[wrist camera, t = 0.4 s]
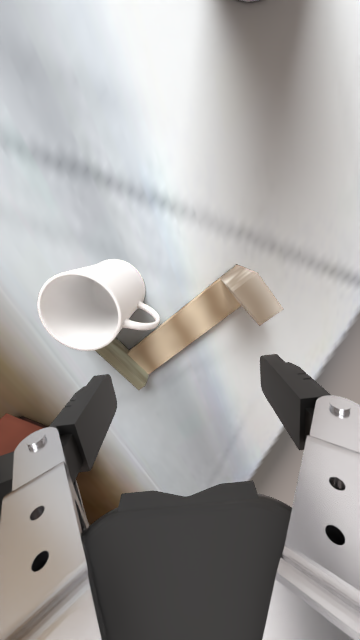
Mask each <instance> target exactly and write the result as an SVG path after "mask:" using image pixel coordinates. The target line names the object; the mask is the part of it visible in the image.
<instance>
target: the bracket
mask: <svg viewBox="0 0 360 640" xmlns="http://www.w3.org/2000/svg"><path fill="white" fill-rule="evenodd" d="M240 306H242V307H243V308H244V309H245V311H246V312H247V313H248V314H249V315H250V316H251V317H252V318H253V319H254V320H255V321H256V323H257V324H258V325H259V326H260V325H262V324H263V323H264V322H266V321H267V320H269V319H270V318H272V317H273V316H275V315H276V314H277V313H279V312H280V311H282V310H283V308H282V306H281V305H280V303H279V302H278V301H277V299H276V298H275V296H274V295H273V294H272V292H271V291H270V289H269V288H268V286H267V285H266V284H265V282H264V281H263V279H262V278H261V277H260V275H259V274H258V273H257V272H255V271H252V270H250V269H247V268H245V267H242V266H240V265H237V264H236V265H235V266H234V267H232V268H231V269H230V270H229V271H227V272H226V273H225V274H224V275H222V276H221V277H220V278H219V279H218V280H216V281H215V282H214V283H213V284H211V285H210V286H209V287H208V288H206V289H205V290H204V291H203V292H201V293H200V294H199V295H198V296H196V297H195V298H194V299H193V300H191V301H190V302H189V303H188V304H186V305H185V306H184V307H183V308H181V309H180V310H179V311H178V312H176V313H175V314H174V315H173V316H171V317H170V318H169V319H168V320H167V321H165V322H164V323H163V324H162V325H160V326H159V327H158V328H157V329H155V330H154V331H153V332H152V333H150V334H149V335H148V336H147V337H145V338H144V339H143V340H142V341H140V342H139V343H138V344H137V345H135V346H134V347H133V348H132V349H130V350H128V349H127V348H126V347H125V346H124V345H123V344H122V343H121V342H120V341H119V340H118V339H117V338H116V337H115V338H114V340H113V341H112V342H110V343H109V344H108V345H106V346H105V347H102V348H100V349H97V350H95V351H96V352H97V353H98V354H99V355H101V356H102V357H103V358H104V359H105V360H106V361H107V362H108V363H109V364H110V365H112V366H113V367H114V368H115V369H116V370H117V371H118V372H119V373H120V374H121V375H123V376H124V377H125V378H126V379H127V380H128V381H129V382H130V383H131V384H132V385H133V386H135V387H136V388H137V389H138V390H140V389H141V388H143V387H144V386H145V385H146V383H147V379H148V375H149V374H150V373H151V372H153V371H154V370H155V369H157V368H158V367H159V366H161V365H162V364H163V363H165V362H166V361H168V360H169V359H170V358H172V357H173V356H174V355H176V354H177V353H178V352H180V351H181V350H182V349H184V348H185V347H186V346H188V345H189V344H190V343H192V342H193V341H195V340H196V339H197V338H199V337H200V336H201V335H203V334H204V333H205V332H207V331H208V330H209V329H211V328H212V327H213V326H215V325H216V324H217V323H219V322H220V321H221V320H223V319H224V318H226V317H227V316H228V315H230V314H231V313H232V312H234V311H235V310H236V309H238V308H239V307H240Z"/></svg>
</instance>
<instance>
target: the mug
mask: <svg viewBox="0 0 360 640" xmlns="http://www.w3.org/2000/svg"><path fill="white" fill-rule="evenodd" d="M144 297H145V284H144V280H143V278H142V276H141V274H140V273H139V271H138V270H137V269H136V268H135V267H134V266H132V265H131V264H129V263H127V262H125V261H122V260H118V259H109V260H105V261H102V262H100V263H99V264H96V265H92V266H88V267H83V268H79V269H75V270H71V271H67V272H63V273H60V274H57V275H55V276H53V277H52V278H50V279H49V280H48V281H47V282H46V283H45V284H44V285H43V287H42V288H41V290H40V293H39V296H38V313H39V317H40V319H41V322H42V324H43V325H44V327H45V329H46V330H47V331H48V332H49V334H50V335H51V336H52V337H53V338H55V339H56V340H57V341H58V342H60V343H61V344H63V345H65V346H67V347H70V348H72V349H76V350H82V351H91V350H97V349H100V348H102V347H105V346H106V345H108V344H109V343H110V342H112V341H113V340H114V338H115V337H116V336H117V334H118V333H119V332H120V330H121V329H122V328H129V329H134V330H151V329H154V328H156V327H157V326H158V325H159V322H160V317H159V315H158V313H157V312H156V311H155V310H154V309H152V308H151V307H150V306H148V305H146V304H144V303H143V300H144ZM138 308H140V309H143V310H144V311H146V312H148V313H149V314H150V315H152V316H153V317H154V319H155V322H153V323H140V322H135V321H131V320H129V318H130V317H131V315H132V314H133V313H134V312H135V311H136V310H137V309H138Z"/></svg>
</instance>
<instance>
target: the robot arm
mask: <svg viewBox="0 0 360 640" xmlns="http://www.w3.org/2000/svg"><path fill="white" fill-rule="evenodd" d="M241 1H247V2H250V1H258V0H241ZM260 374H261V387H262V391H263V393H264V395H265V397H266V398H267V400H268V402H269V403H270V405H271V406H272V408H273V409H274V411H275V413H276V414H277V416H278V417H279V419H280V421H281V422H282V424H283V425H284V427H285V429H286V430H287V432H288V433H289V435H290V436H291V438H292V440H293V441H294V443H295V444H296V446H297V447H298V449H299V450H304V453H303V458H302V462H301V468H300V472H299V477H298V482H297V487H296V492H295V497H294V502H293V507H292V508H291V507H290V506H288V505H286V504H285V503H283V502H281V501H279V500H277V499H274V498H272V497H269V496H266V495H262V494H258V493H257V491H256V488H255V485H254V482H253V481H245V482H235V483H225V484H219V485H216V486H214V487H211V488H209V489H206V490H204V491H201V492H199V493H196V494H194V495H191V496H188V497H183V496H178V495H173V494H168V493H163V492H158V491H145V492H135V493H125V494H122V495H121V499H120V503H119V507H118V508H116V509H114V510H112V511H110V512H108V513H106V514H105V515H103V516H102V517H100V518H99V519H98V520H96V521H95V522H94V523H93V524H91V525H90V526H89V525H88V521H87V517H86V514H85V510H84V506H83V503H82V499H81V495H80V492H79V488H78V484H77V482H76V477H77V475H78V473H79V472H87V471H91V468H92V466H93V464H94V461H95V459H96V457H97V454H98V452H99V450H100V447H101V445H102V443H103V440H104V438H105V436H106V433H107V431H108V429H109V426H110V424H111V422H112V419H113V417H114V415H115V412H116V409H117V400H116V395H115V392H114V388H113V384H112V380H111V377H110V375H109V374H106V375H98V376H94V377H93V378H92V379H91V380H90V382H89V383H88V384H87V386H85V387H83V388H82V389H80V390H79V391H78V392H76V393H75V394H74V396H73V397H72V398H71V399H70V402H68V403H67V404H66V406H65V408H63V409H62V411H61V412H60V413H59V415H58V416H57V417H56V418H55V420H54V421H53V422H52V423H51V425H50V426H49V427H47V428H43V429H40V430H38V431H36V432H34V433H32V434H30V435H29V436H27V437H26V438H25V439H23V440H22V441H21V442H20V443H19V445H18V446H17V447H16V449H15V451H13V452H10V453H7V454H4V455H1V456H0V640H360V405H358V404H357V403H355V402H353V401H351V400H349V399H346V398H343V397H339V396H332V395H330V394H329V393H328V392H327V391H326V390H325V389H324V388H322V387H321V386H320V385H319V384H318V383H317V382H316V381H314V380H313V379H312V378H311V377H310V376H309V375H308V374H306V373H305V372H304V371H303V370H302V369H301V368H300V367H298V366H296V365H294V364H292V363H290V362H287V363H285V362H284V361H283V360H282V359H281V358H280V357H279V356H278V355H277V354H272V355H264V356H261V357H260Z"/></svg>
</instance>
